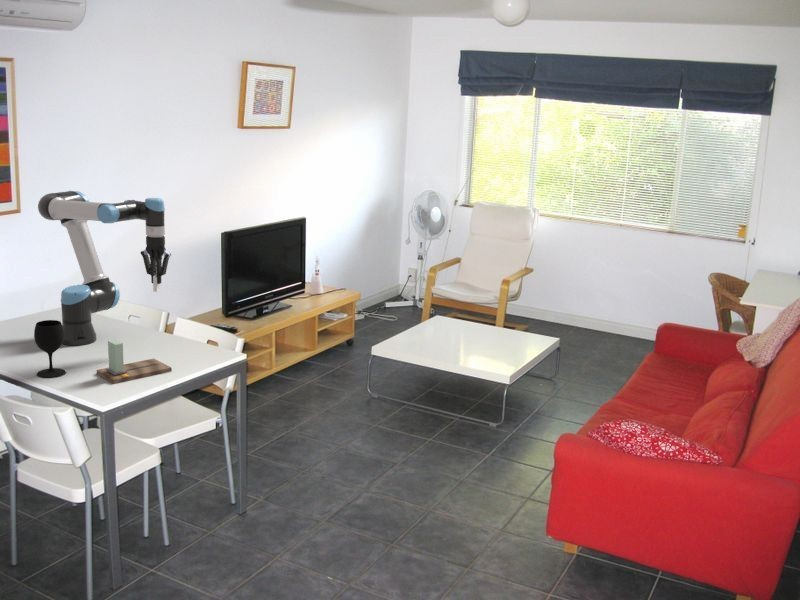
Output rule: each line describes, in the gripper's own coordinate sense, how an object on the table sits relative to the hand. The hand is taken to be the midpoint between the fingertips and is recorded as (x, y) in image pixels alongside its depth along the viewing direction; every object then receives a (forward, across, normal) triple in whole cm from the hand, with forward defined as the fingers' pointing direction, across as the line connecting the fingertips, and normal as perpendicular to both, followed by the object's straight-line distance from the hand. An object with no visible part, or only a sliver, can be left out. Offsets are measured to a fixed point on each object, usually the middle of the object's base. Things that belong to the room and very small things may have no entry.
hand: (156, 291), depth 350 cm
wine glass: (+25, -20, -45) cm, 55 cm away
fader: (+23, +4, -39) cm, 45 cm away
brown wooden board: (+24, +8, -33) cm, 42 cm away
